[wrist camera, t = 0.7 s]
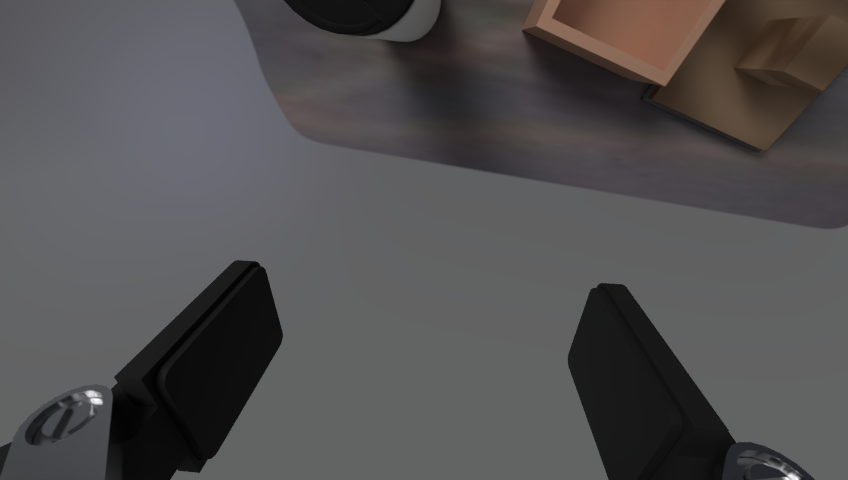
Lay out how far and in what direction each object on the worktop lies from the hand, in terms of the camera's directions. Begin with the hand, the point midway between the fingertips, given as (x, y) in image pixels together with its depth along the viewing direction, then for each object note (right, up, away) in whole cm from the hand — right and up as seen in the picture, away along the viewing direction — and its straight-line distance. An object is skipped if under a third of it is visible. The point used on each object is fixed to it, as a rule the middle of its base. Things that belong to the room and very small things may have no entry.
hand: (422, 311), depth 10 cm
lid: (+29, +18, +18) cm, 39 cm away
